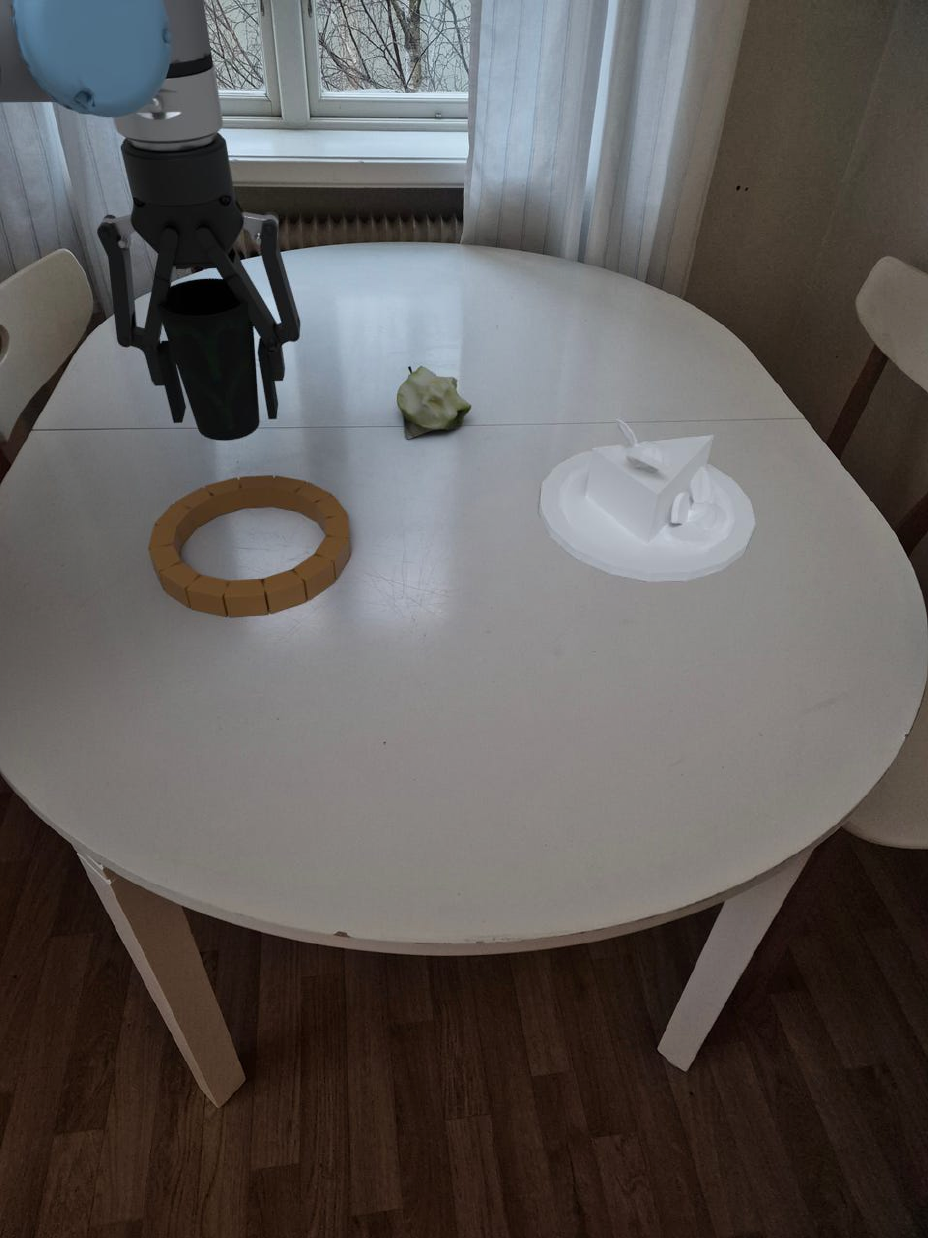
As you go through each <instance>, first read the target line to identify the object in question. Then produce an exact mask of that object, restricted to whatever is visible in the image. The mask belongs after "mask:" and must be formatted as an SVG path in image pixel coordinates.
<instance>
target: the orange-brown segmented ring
mask: <svg viewBox="0 0 928 1238" xmlns="http://www.w3.org/2000/svg"><path fill="white" fill-rule="evenodd" d="M253 508H255V509H256V508H257V509H258V508H275V509H276V508H277V509H282V510H287V511H293V512H297V513H300V514H301V515H303V516H305V517H306V518H308V519H310V520H312V521H314V522H316V524H318V526H319V527H320V529H321V530H322V532H323V534H325V536H324V538H323V540H322V541H321V542H320V544H319V545H318V548H317V549H316V550H315V552H314V553H313V554H312V555H310V556H309V557H307V558H306V559H304V560H303V561H301V562H300V563H299V564H297V565H295V566H294V567H293V568H291V569H288V570H284V571H281V572H279V573H275V574H272V575H270V576H266V577H263V578H252V579H249V578H248V579H233V580H231V579H230V580H229V579H223V578H219V577H215V576H210V575H204V574H201V573H199V572H198V571H196V570H195V569H193V568H192V567H191V566H189V565H188V564H186V563H185V562H183V561H182V560H181V558H180V557H181V551H182V548H183V547H182V546H184V544H185V543H186V542H187V541H188V540H189V538H190V537H191V535H193V533H194V532H195V531H196V530H197V529H198V528H200V527H201V526H203V525H205V524H207V523H209V522H210V521H211V520H214V519H216V518H217V517H219V516H222V515H226V514H230V513H233V512H237V511H240V510H244V509H253ZM350 530H351V529H350V520H349V515H348V512H347V511H346V510H345V508H344V506H342V504H341V503H340V501H339V500H338V499H337V497H336V496H335V495H333V493H330V492H329V491H327V490H326V489H324V488H321V487H320V486H318V485H316V484H314V483H312V482H310V481H307V480H304V479H298V478H292V477H288V476H282V475H277V474H276V475H273V474H268V475H267V474H265V475H248V476H239V478H238V477H232V478H228V479H225V480H224V479H223V480H220V481H217V482H214V483H211V484H206V485H204V486H203V487H199V488H198V489H196V490H194V491H191V492H190V493H188V494H187V495H185V496H183V497H181V498H179V499H178V500H176V501H174V503H172V504H170V505H169V507H168V508H167V509H166V510H165V511H164V512H163V513H162V515H161V516H160V517H159V518H158V519H157V520H156V521H155V523H154V525H153V526H152V531H151V535H150V539H149V542H148V543H149V544H148V553H149V557H150V560H151V563H152V568H153V570H154V572H155V573H156V574H155V575H156V577H157V579H158V581H159V583H160V585H161V587H162V589H163V590H162V591H164V592H165V593H166V594H167V595H169V596H170V597H172V598H173V599H175V601H178V602H179V603H181V604H182V605H184V606H185V607H187V608H188V609H191V610H193V611H197V612H201V613H207V614H210V615H215V616H220V617H224V618H227V617H228V618H240V617H241V618H242V617H253V616H254V617H255V616H268V615H269V614H270V615H273V614H275V613H279V612H281V611H284V610H288V609H290V608H293V607H296V606H300V605H303V604H304V603H305V604H306V603H307V601H308V602H309V601H311V600H312V599H314V598H315V597H317V596H318V595H320V594H321V593H322V592H324V591H325V590H326V589H328V588H329V587H331V586H332V585H333V584H335V583H336V581H338V579H339V577H340V575H341V574H342V572H343V571H344V569H345V567H346V565H347V564H348V563H349V561H350V559H351V555H352V554H351V553H352V552H351V551H352V550H351V531H350Z"/></svg>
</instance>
